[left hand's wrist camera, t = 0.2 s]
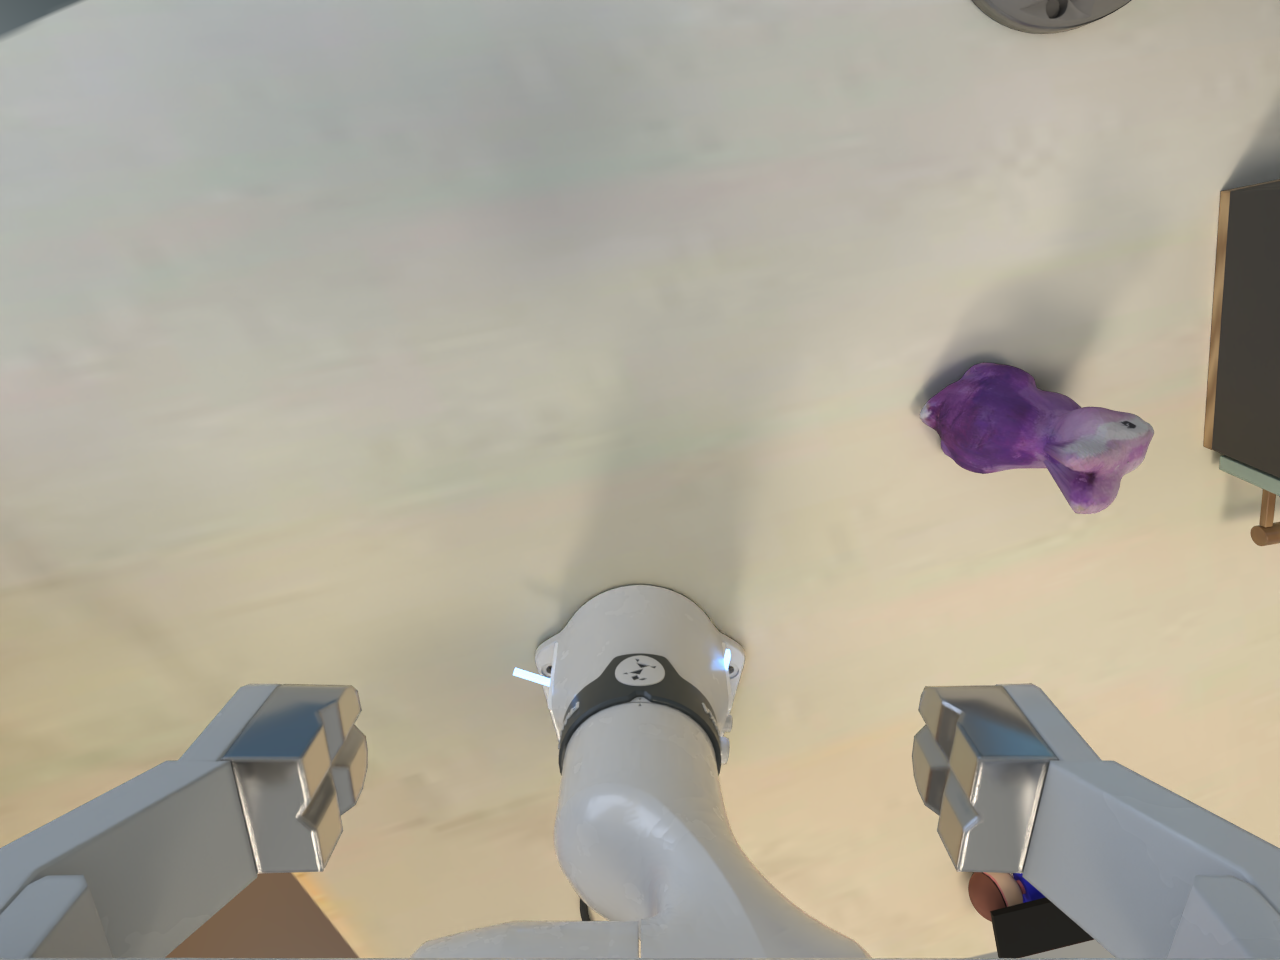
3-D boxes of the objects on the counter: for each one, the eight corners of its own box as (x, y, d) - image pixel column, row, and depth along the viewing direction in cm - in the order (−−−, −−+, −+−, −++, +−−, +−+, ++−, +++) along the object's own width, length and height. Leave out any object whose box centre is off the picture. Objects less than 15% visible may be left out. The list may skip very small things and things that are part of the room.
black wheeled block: (1094, 811, 74) (954, 857, 74) (1152, 872, 67) (997, 924, 67) (1100, 859, 76) (964, 904, 76) (1156, 923, 69) (1006, 973, 69)
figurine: (1079, 405, 58) (1220, 468, 44) (972, 488, 60) (1073, 572, 46) (1013, 318, 56) (1140, 354, 42) (904, 407, 58) (989, 471, 44)
